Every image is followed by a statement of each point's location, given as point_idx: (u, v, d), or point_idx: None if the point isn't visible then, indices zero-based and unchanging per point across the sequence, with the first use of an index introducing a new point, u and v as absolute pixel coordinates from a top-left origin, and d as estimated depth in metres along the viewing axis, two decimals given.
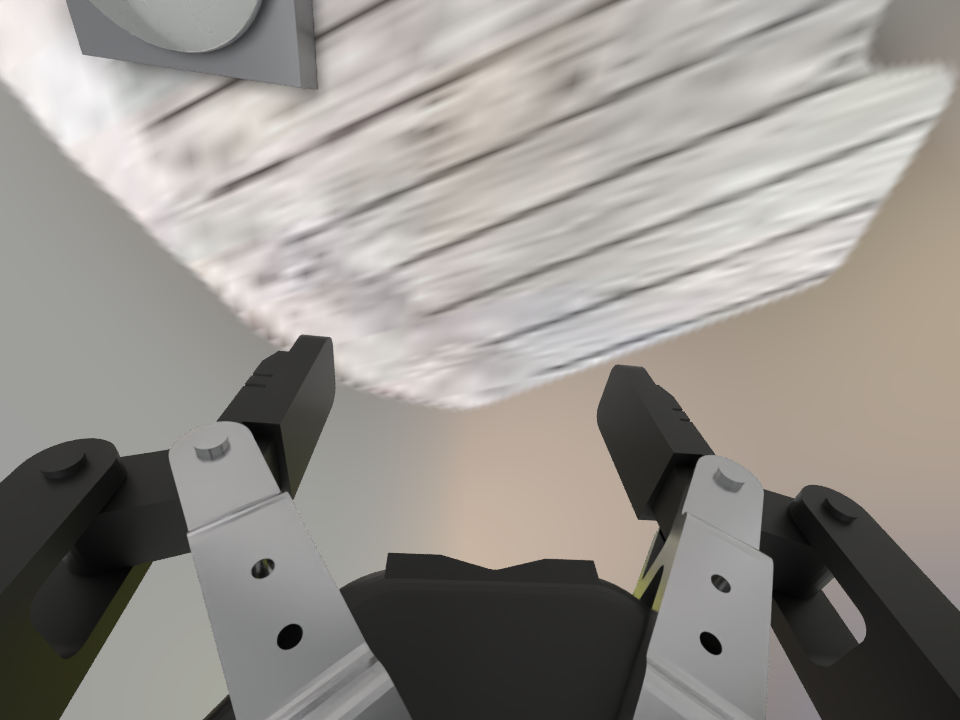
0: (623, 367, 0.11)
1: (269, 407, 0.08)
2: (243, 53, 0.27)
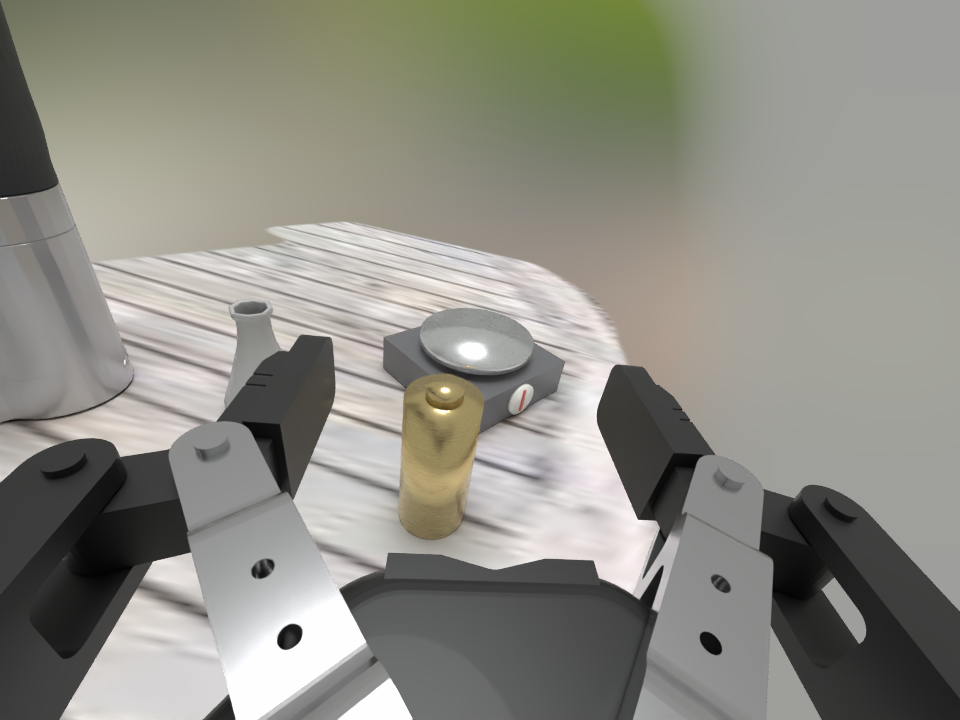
0: (623, 367, 0.11)
1: (269, 407, 0.08)
2: None
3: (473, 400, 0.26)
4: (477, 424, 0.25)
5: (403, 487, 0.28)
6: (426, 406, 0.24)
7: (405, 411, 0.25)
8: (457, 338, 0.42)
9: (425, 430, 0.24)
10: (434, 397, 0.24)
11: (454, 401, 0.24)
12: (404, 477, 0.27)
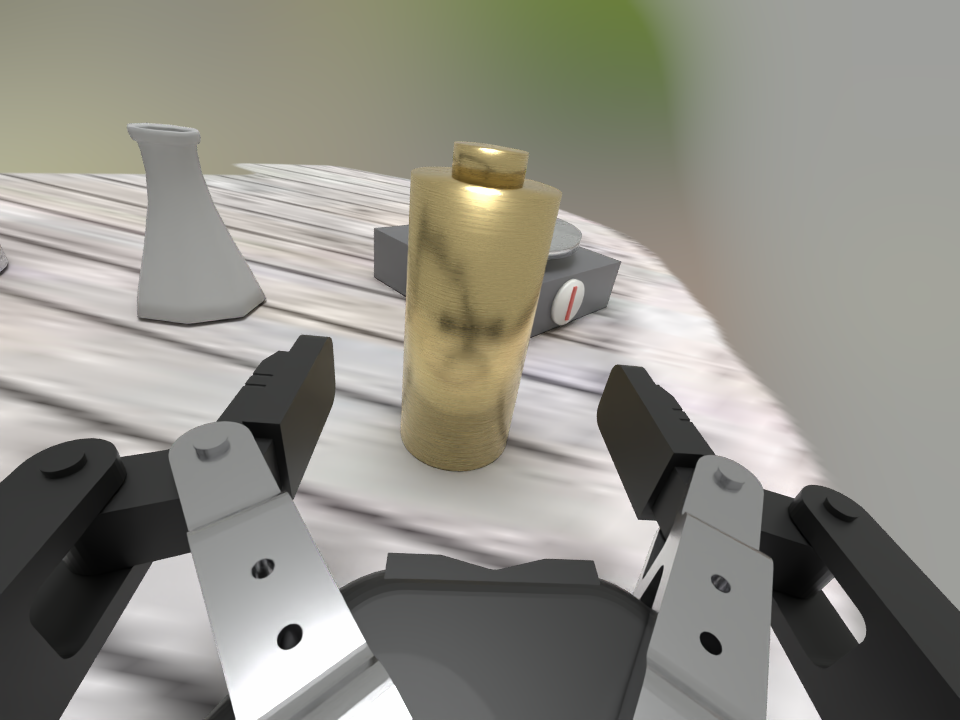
0: (623, 367, 0.11)
1: (269, 407, 0.08)
2: None
3: (540, 188, 0.14)
4: (552, 223, 0.13)
5: (410, 373, 0.16)
6: (456, 181, 0.13)
7: (415, 193, 0.13)
8: None
9: (457, 215, 0.12)
10: (472, 156, 0.12)
11: (511, 167, 0.12)
12: (413, 349, 0.15)
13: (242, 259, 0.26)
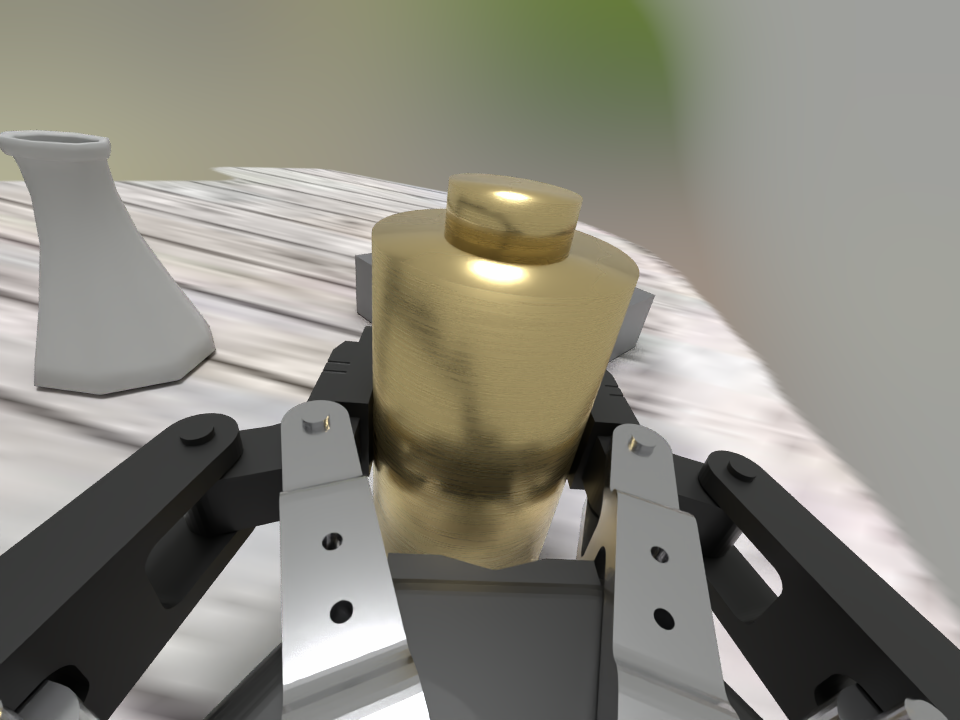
0: None
1: (355, 389, 0.09)
2: None
3: (597, 253, 0.08)
4: (622, 321, 0.07)
5: (381, 527, 0.10)
6: (452, 252, 0.07)
7: (377, 272, 0.07)
8: None
9: (454, 326, 0.06)
10: (482, 209, 0.07)
11: (554, 227, 0.07)
12: (384, 501, 0.09)
13: (180, 304, 0.20)
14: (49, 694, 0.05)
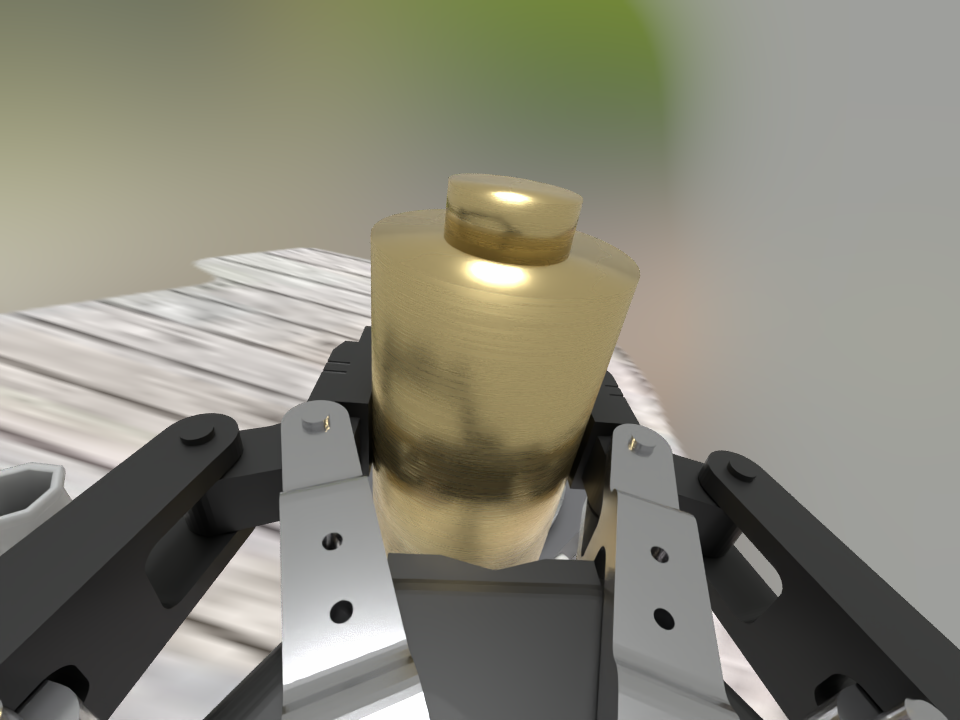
0: None
1: (355, 389, 0.09)
2: None
3: (598, 254, 0.08)
4: None
5: (380, 529, 0.10)
6: (451, 253, 0.07)
7: (376, 273, 0.07)
8: None
9: (453, 327, 0.06)
10: (482, 209, 0.06)
11: (554, 228, 0.07)
12: (383, 502, 0.09)
13: None
14: (49, 694, 0.05)
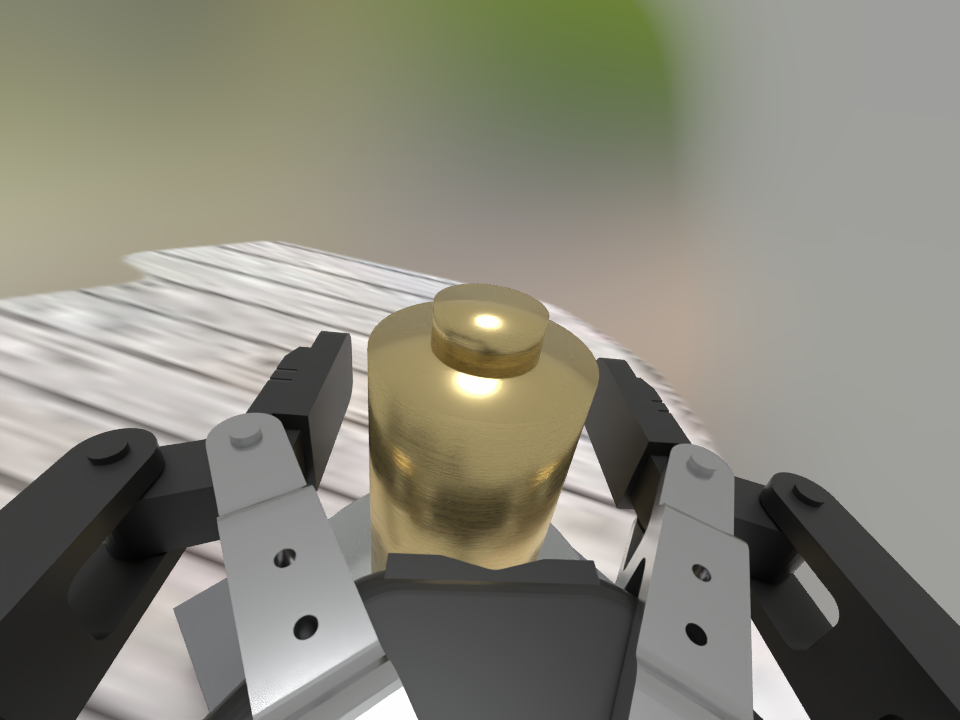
0: (605, 360, 0.11)
1: (296, 400, 0.08)
2: None
3: (565, 354, 0.09)
4: (584, 420, 0.09)
5: None
6: (436, 368, 0.08)
7: (372, 384, 0.08)
8: None
9: (435, 441, 0.07)
10: (461, 336, 0.08)
11: (522, 349, 0.08)
12: (379, 562, 0.11)
13: None
14: None
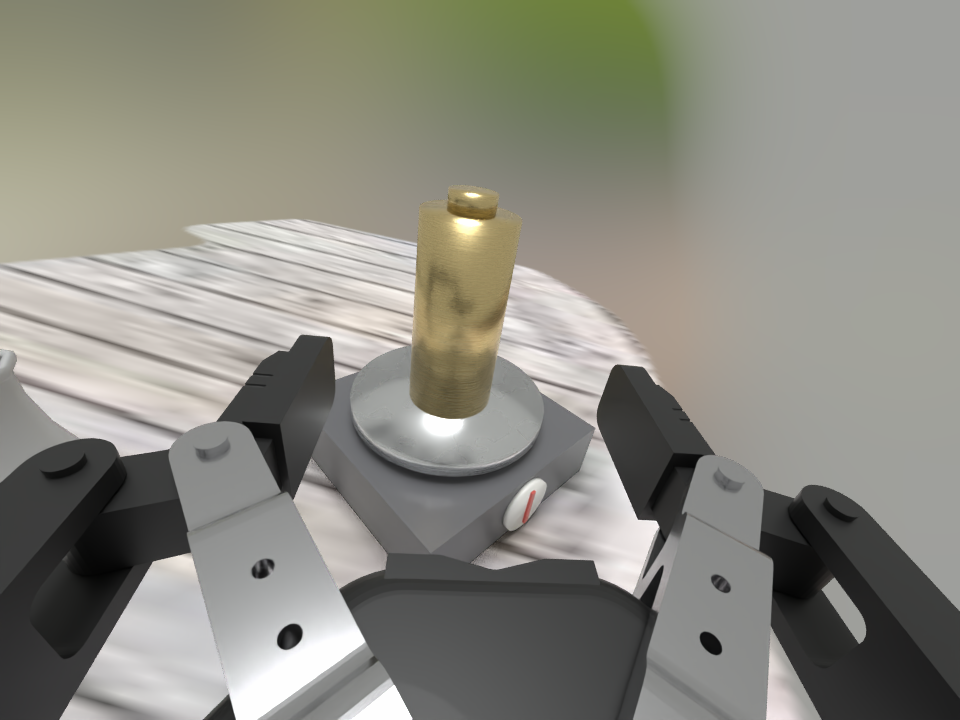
0: (623, 367, 0.11)
1: (269, 407, 0.08)
2: None
3: (508, 217, 0.20)
4: (515, 242, 0.19)
5: (417, 346, 0.22)
6: (449, 214, 0.19)
7: (422, 222, 0.19)
8: None
9: (450, 238, 0.18)
10: (460, 198, 0.18)
11: (486, 205, 0.19)
12: (419, 328, 0.21)
13: None
14: None
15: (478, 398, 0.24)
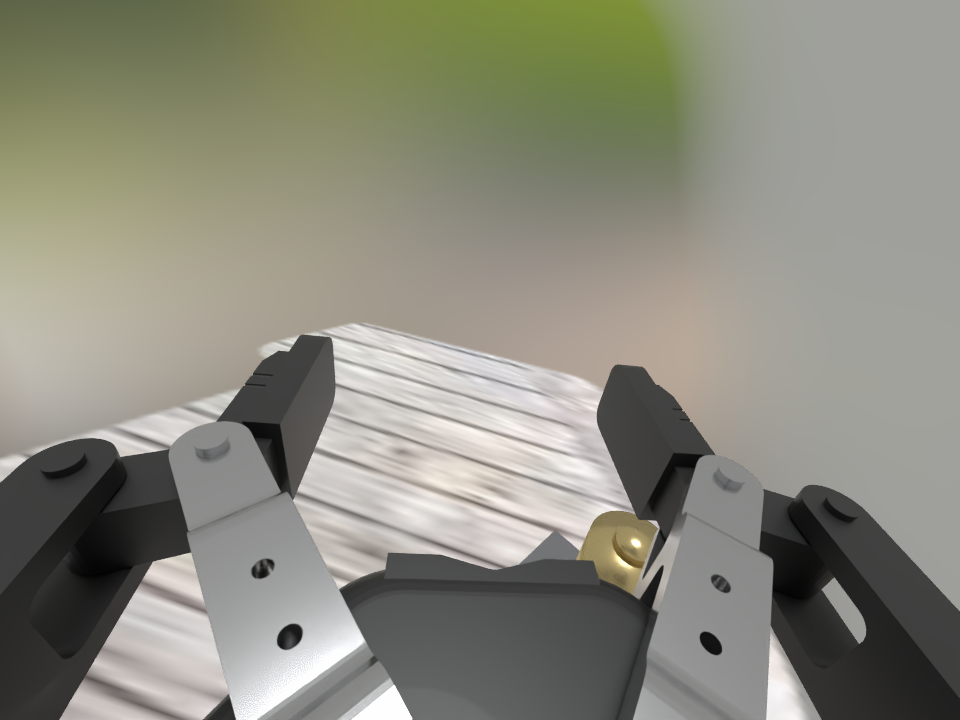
0: (623, 367, 0.11)
1: (269, 407, 0.08)
2: None
3: None
4: None
5: None
6: (622, 564, 0.22)
7: (598, 569, 0.22)
8: None
9: None
10: (634, 556, 0.22)
11: None
12: None
13: None
14: None
15: None
